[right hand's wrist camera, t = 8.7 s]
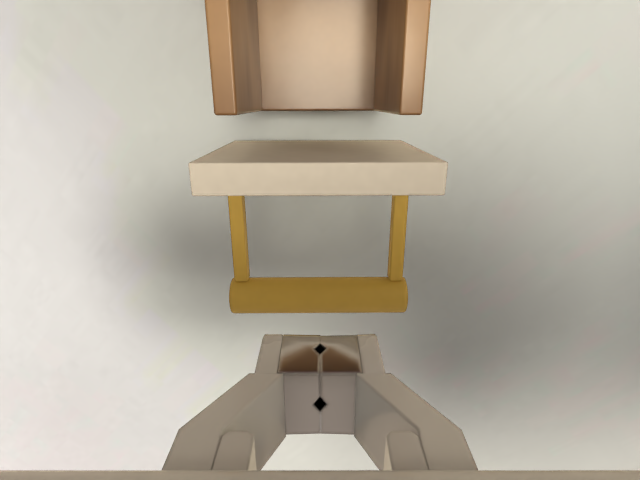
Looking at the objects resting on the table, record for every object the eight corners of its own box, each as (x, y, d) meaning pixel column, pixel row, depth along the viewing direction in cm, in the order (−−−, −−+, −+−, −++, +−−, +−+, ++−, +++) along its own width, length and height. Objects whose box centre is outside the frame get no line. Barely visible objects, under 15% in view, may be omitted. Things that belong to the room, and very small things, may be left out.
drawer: (393, 263, 24) (429, 341, 16) (243, 264, 24) (207, 342, 16) (424, -217, 17) (517, -492, 9) (208, -218, 17) (115, -496, 9)
